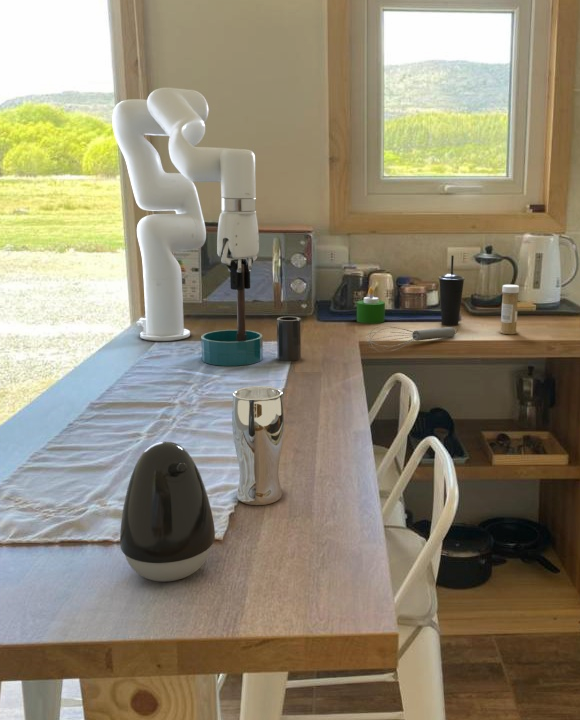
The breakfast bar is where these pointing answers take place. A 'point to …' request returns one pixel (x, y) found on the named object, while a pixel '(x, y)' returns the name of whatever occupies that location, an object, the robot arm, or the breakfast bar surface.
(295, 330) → the crock
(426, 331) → the kitchen whisk
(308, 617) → the breakfast bar surface
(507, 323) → the sprinkles bottle
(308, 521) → the breakfast bar surface
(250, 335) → the bowl
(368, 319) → the candle
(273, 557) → the breakfast bar surface
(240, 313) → the wooden muddler
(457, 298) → the drinking cup
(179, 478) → the black egg-shaped body
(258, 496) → the beer glass
